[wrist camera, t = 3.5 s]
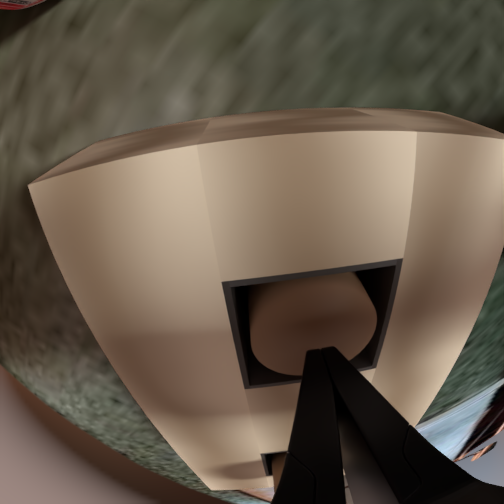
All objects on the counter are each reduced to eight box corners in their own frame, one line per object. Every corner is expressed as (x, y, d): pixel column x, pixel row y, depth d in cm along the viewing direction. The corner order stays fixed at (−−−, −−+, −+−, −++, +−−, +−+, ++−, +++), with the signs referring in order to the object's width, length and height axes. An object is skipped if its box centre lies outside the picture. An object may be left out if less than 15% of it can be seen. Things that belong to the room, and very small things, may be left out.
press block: (440, 112, 10) (524, 142, 6) (371, 416, 23) (386, 463, 19) (98, 140, 10) (27, 185, 6) (211, 439, 23) (211, 490, 19)
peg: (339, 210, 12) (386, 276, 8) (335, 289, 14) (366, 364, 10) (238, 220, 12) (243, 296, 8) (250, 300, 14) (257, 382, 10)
